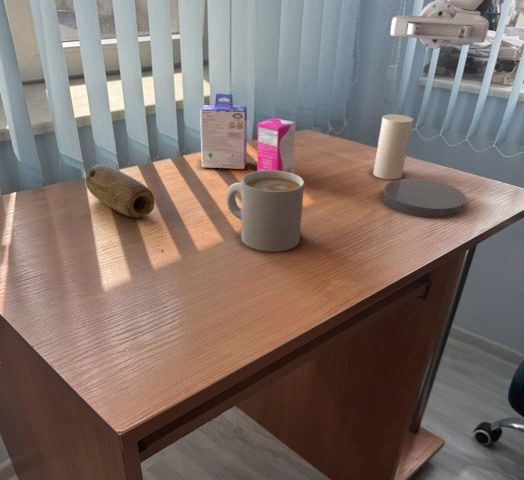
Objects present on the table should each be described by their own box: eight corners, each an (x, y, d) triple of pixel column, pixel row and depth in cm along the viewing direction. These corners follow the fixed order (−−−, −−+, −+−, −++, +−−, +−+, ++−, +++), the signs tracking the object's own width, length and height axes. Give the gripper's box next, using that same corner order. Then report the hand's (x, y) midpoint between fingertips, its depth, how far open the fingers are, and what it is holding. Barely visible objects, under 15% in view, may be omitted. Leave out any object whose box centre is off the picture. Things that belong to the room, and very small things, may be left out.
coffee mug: (310, 238, 89) (316, 180, 83) (273, 257, 83) (277, 197, 77) (253, 215, 96) (254, 161, 90) (215, 232, 90) (213, 174, 84)
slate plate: (437, 185, 113) (439, 176, 112) (480, 214, 101) (483, 205, 99) (370, 189, 109) (371, 181, 108) (405, 220, 97) (407, 211, 96)
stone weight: (81, 202, 98) (75, 166, 94) (112, 192, 103) (107, 158, 98) (131, 226, 91) (126, 188, 87) (162, 214, 95) (158, 178, 91)
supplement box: (272, 171, 116) (274, 116, 109) (293, 178, 113) (297, 122, 106) (255, 178, 112) (257, 121, 105) (277, 185, 109) (280, 127, 102)
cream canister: (393, 169, 120) (404, 113, 113) (406, 178, 115) (418, 121, 108) (368, 170, 119) (377, 114, 111) (380, 180, 114) (390, 122, 106)
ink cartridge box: (246, 162, 120) (247, 93, 111) (245, 170, 116) (246, 99, 107) (204, 160, 120) (201, 91, 111) (201, 168, 116) (198, 97, 107)
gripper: (393, 6, 118) (391, 11, 107) (487, 11, 115) (494, 17, 104) (388, 38, 122) (385, 46, 111) (479, 44, 118) (485, 53, 108)
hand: (439, 32), depth 107 cm, fingers open, 8 cm apart
